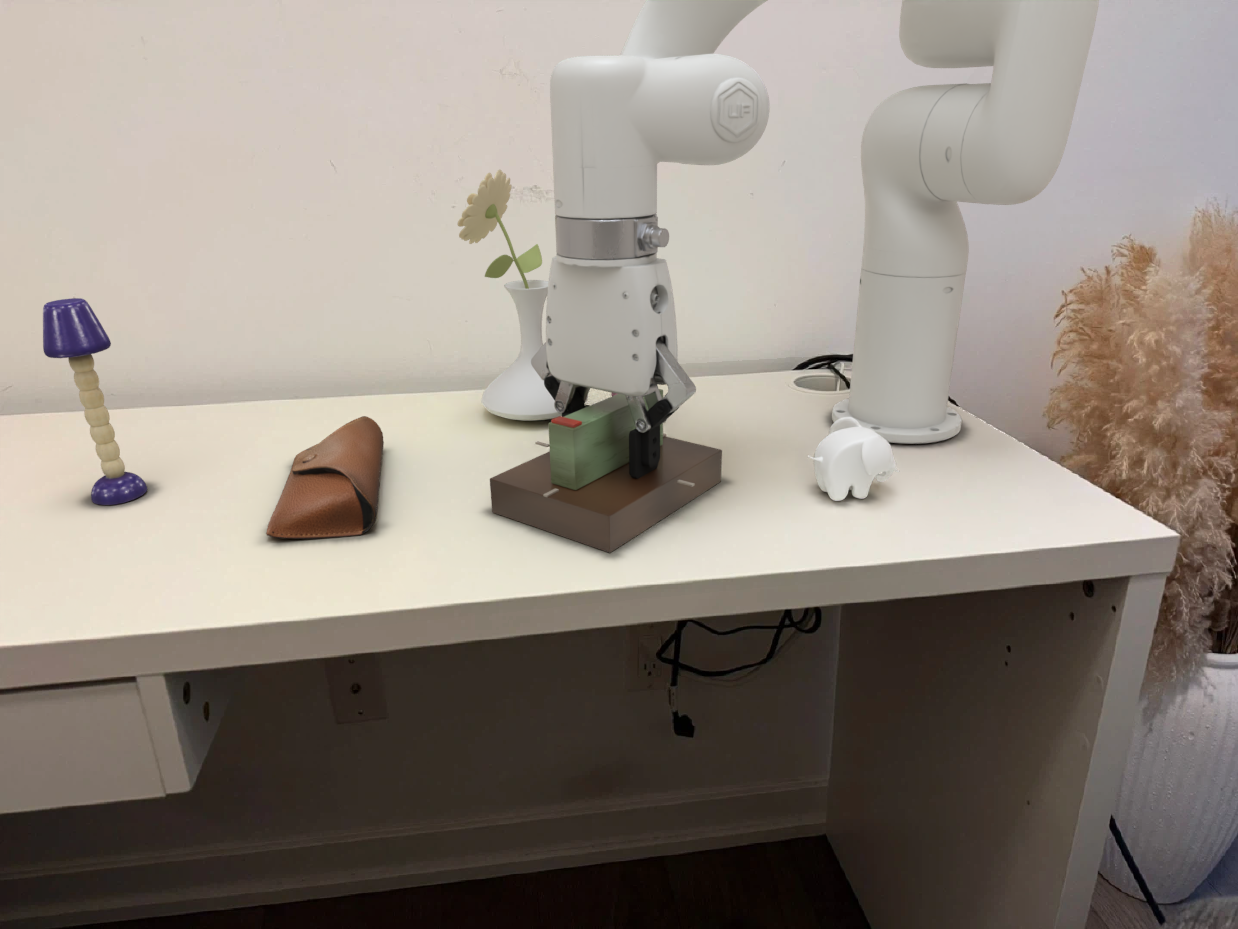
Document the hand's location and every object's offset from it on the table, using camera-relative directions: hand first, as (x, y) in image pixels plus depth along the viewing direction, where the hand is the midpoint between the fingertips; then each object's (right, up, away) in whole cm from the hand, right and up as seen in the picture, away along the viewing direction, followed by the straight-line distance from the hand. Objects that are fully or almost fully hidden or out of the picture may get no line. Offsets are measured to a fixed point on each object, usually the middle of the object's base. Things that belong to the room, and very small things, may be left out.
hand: (610, 461), depth 70 cm
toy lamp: (-42, -3, +3) cm, 43 cm away
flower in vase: (-9, +5, +21) cm, 24 cm away
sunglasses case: (-24, -3, +3) cm, 24 cm away
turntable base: (0, -3, +1) cm, 3 cm away
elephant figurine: (+20, -3, +1) cm, 20 cm away
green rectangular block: (0, 0, 0) cm, 0 cm away
